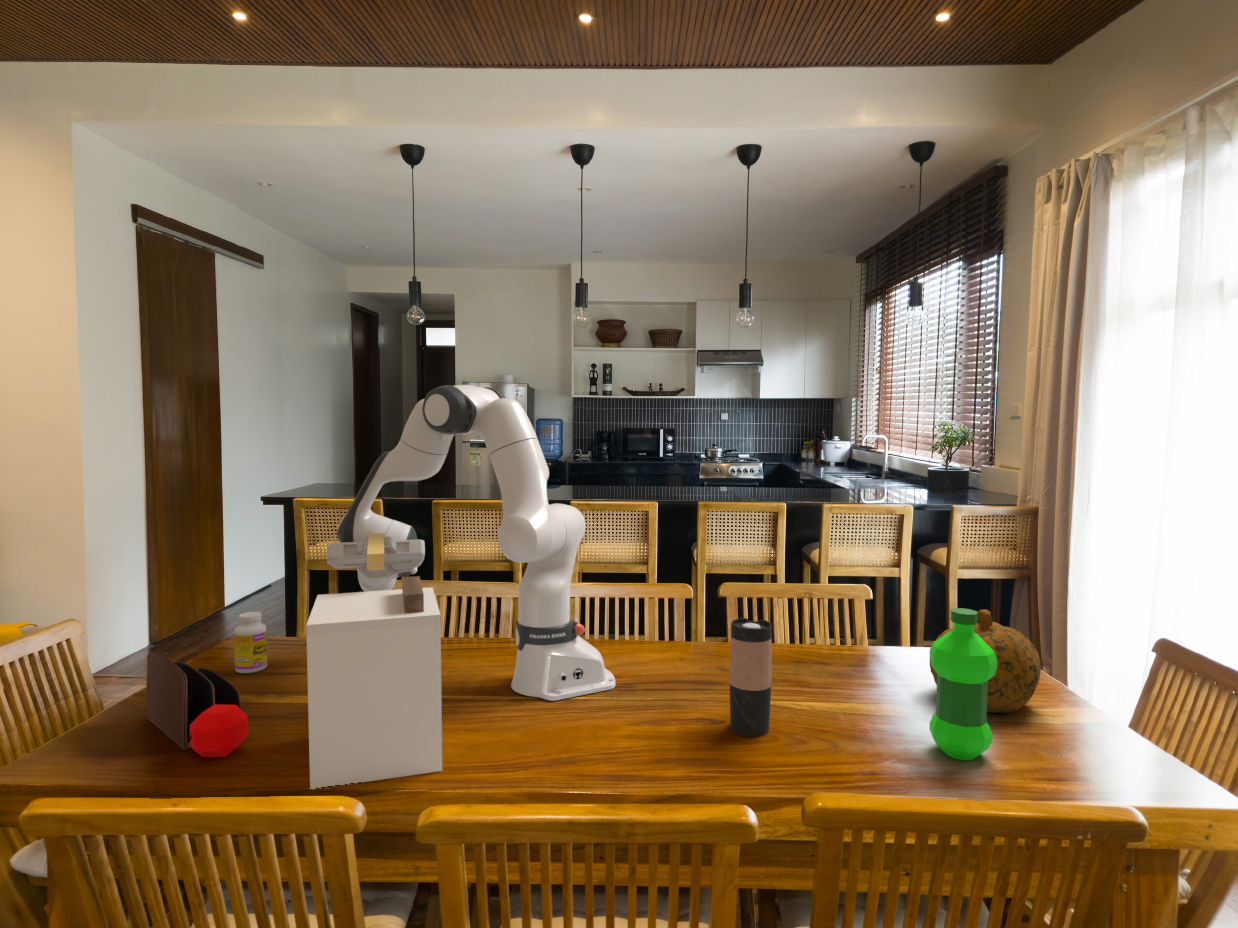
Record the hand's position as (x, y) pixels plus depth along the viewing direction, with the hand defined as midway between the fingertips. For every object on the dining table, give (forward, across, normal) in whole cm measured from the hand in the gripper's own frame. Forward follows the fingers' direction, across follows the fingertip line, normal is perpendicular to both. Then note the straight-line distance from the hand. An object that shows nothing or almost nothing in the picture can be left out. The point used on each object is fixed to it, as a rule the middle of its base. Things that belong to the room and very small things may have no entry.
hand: (376, 540), depth 151 cm
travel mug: (+20, +66, +48) cm, 84 cm away
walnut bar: (+24, +6, +20) cm, 32 cm away
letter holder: (-9, -33, +32) cm, 47 cm away
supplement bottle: (-36, -28, +17) cm, 48 cm away
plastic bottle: (+37, +96, +58) cm, 118 cm away
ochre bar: (+7, 0, +6) cm, 9 cm away
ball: (+3, -26, +39) cm, 47 cm away
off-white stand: (+10, 0, +43) cm, 44 cm away
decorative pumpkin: (+22, +118, +50) cm, 130 cm away
